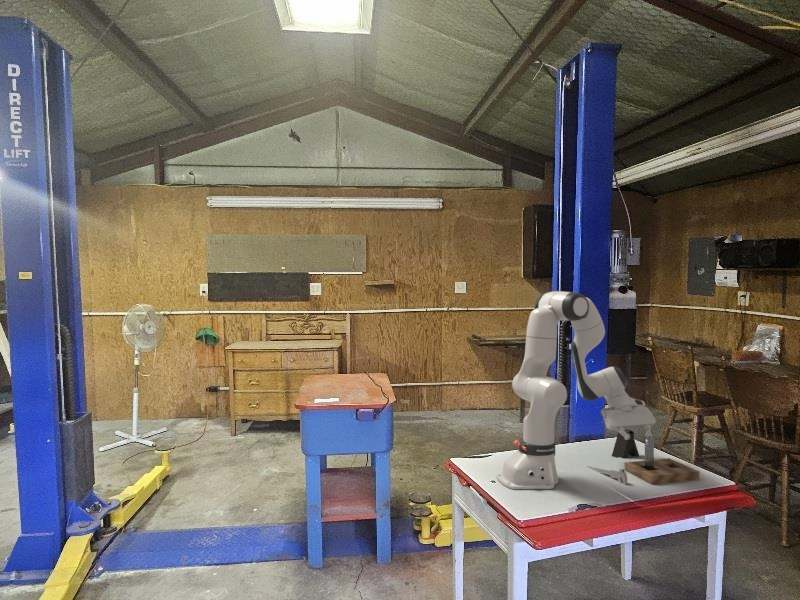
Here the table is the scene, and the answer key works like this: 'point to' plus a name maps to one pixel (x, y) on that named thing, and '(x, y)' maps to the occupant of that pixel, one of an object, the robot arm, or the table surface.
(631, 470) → the hole block
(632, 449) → the black a-frame stand
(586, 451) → the table surface
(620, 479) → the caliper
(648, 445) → the peg
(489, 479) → the table surface
